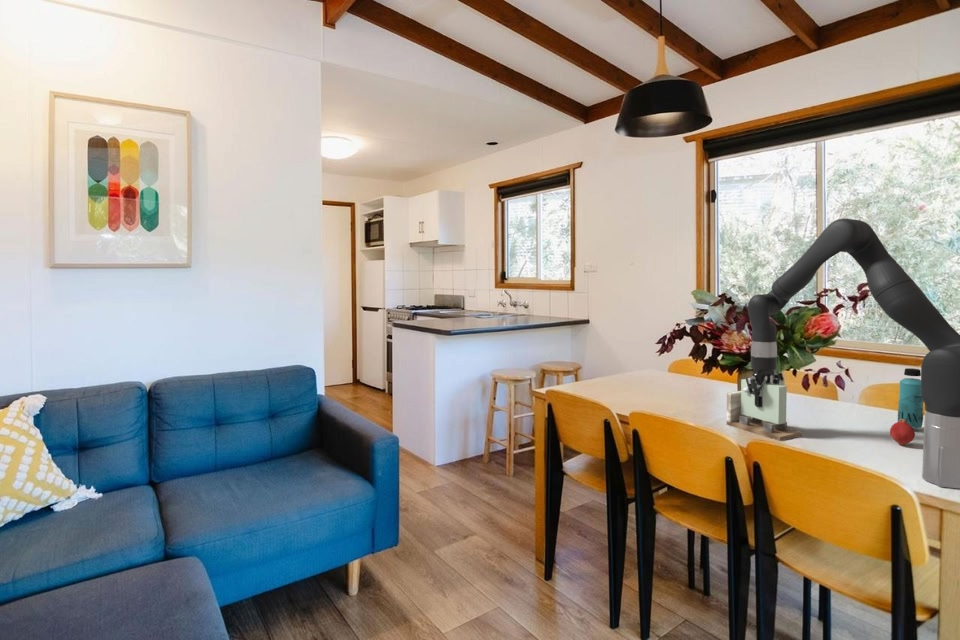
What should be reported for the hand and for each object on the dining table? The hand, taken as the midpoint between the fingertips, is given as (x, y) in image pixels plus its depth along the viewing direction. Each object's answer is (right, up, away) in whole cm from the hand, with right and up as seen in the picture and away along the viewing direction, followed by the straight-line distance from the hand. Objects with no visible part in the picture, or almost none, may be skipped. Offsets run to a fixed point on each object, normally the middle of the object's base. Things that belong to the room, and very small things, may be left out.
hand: (762, 405), depth 170 cm
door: (0, -4, 0) cm, 4 cm away
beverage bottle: (+46, -7, -3) cm, 47 cm away
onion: (+32, -9, -18) cm, 37 cm away
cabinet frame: (0, -8, +1) cm, 8 cm away
